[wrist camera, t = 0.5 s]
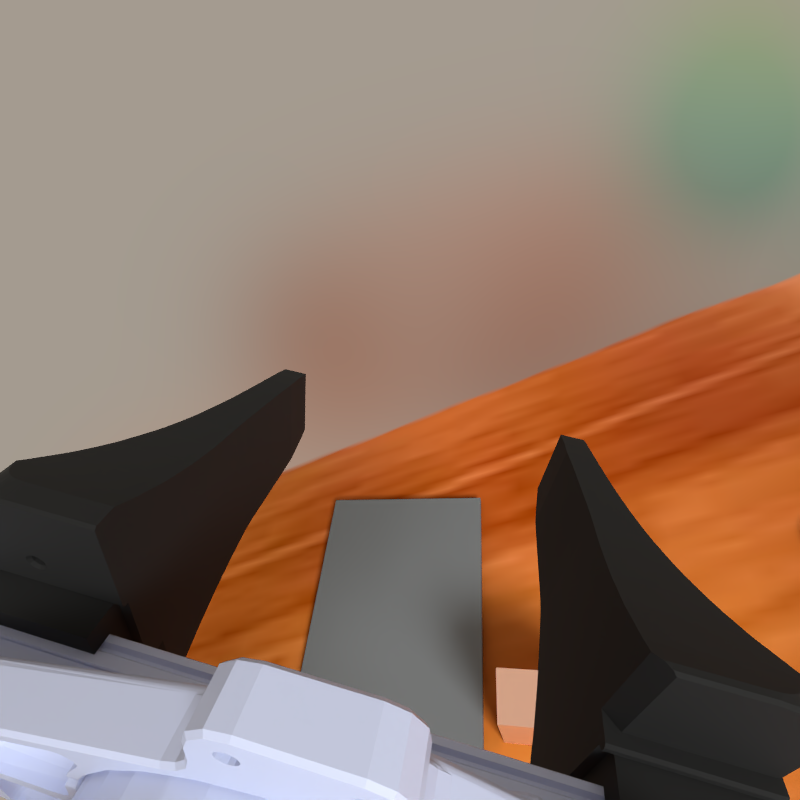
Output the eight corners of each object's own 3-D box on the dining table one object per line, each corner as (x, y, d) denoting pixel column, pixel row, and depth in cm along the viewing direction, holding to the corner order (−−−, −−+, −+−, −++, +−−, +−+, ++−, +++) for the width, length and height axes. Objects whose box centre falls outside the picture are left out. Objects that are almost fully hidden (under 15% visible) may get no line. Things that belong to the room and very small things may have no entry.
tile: (615, 753, 22) (635, 736, 18) (504, 742, 23) (497, 724, 19) (607, 702, 23) (624, 675, 19) (502, 694, 24) (495, 667, 20)
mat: (485, 885, 20) (484, 886, 20) (268, 850, 22) (264, 851, 22) (480, 501, 32) (480, 497, 31) (338, 503, 34) (336, 500, 33)
